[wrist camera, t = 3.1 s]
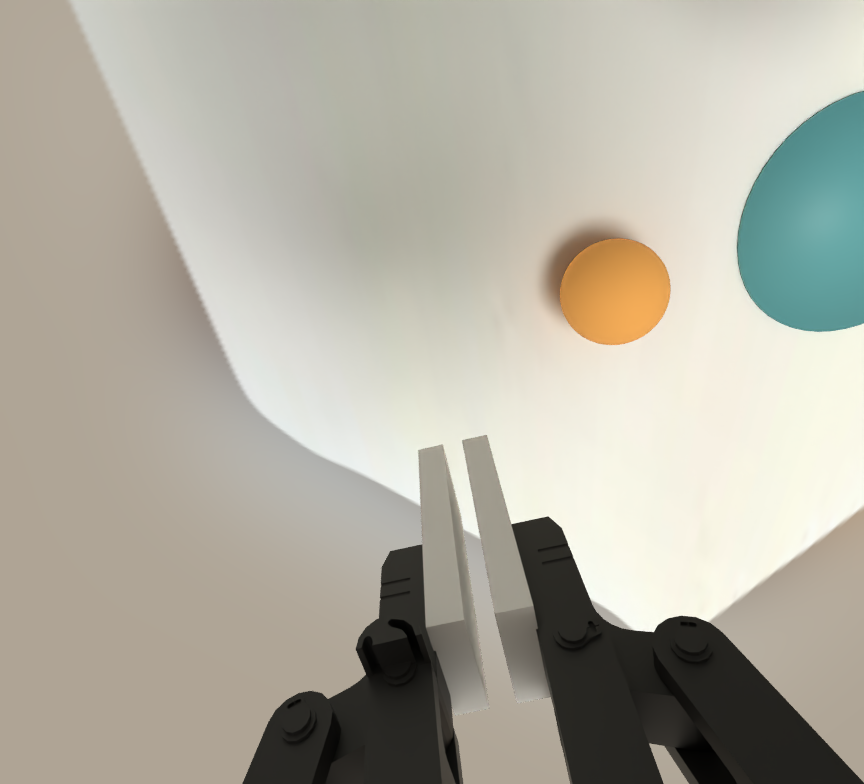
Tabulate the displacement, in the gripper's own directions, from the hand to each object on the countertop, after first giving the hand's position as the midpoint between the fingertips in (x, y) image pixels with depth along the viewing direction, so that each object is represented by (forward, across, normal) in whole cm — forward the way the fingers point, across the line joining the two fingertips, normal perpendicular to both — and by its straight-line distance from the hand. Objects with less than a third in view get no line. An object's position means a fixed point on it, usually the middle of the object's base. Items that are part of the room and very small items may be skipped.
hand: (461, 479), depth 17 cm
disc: (+16, +24, 0) cm, 29 cm away
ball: (+14, +10, 0) cm, 17 cm away
